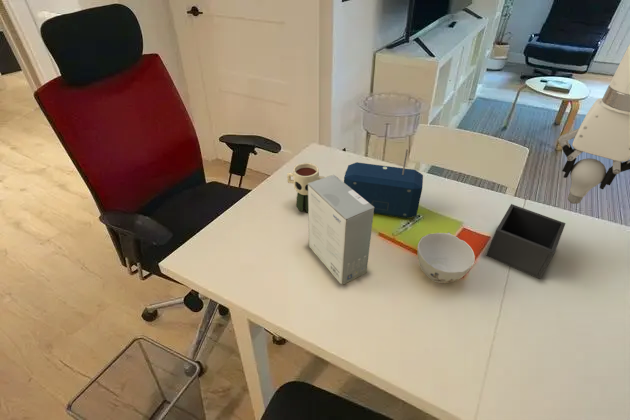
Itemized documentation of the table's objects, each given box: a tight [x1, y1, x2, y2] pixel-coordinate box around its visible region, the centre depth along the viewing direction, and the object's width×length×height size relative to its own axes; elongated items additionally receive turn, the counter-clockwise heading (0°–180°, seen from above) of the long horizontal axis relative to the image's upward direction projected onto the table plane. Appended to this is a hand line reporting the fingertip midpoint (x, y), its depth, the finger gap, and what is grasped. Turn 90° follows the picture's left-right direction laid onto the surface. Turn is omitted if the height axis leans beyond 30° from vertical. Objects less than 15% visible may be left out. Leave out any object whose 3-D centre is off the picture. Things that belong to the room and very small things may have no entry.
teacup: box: [416, 231, 476, 284], centre depth 87 cm, size 15×12×8 cm
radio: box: [343, 149, 424, 219], centre depth 103 cm, size 21×9×20 cm, turn 76°
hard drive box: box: [307, 174, 375, 285], centre depth 87 cm, size 16×8×20 cm, turn 32°
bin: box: [485, 203, 566, 280], centre depth 92 cm, size 13×13×9 cm
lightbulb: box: [567, 157, 607, 205], centre depth 80 cm, size 6×6×11 cm
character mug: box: [286, 162, 326, 213], centre depth 105 cm, size 11×7×13 cm, turn 78°
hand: (584, 179), depth 79 cm, fingers closed on lightbulb, 6 cm apart
